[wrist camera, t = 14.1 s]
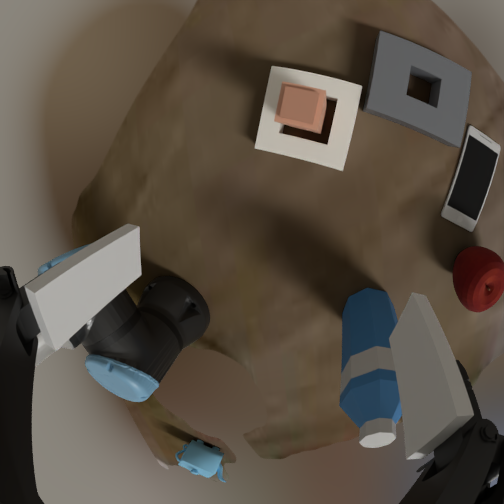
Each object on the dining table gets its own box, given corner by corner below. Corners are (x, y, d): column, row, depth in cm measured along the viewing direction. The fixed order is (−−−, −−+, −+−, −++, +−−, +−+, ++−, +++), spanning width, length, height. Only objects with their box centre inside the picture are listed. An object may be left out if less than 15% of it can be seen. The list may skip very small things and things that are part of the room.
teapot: (182, 440, 88) (169, 465, 76) (187, 432, 83) (172, 460, 71) (231, 461, 86) (221, 487, 74) (240, 455, 81) (229, 484, 69)
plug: (292, 127, 35) (272, 120, 22) (298, 100, 33) (281, 80, 20) (320, 134, 34) (316, 131, 21) (326, 107, 32) (326, 89, 20)
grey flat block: (362, 111, 31) (366, 108, 28) (375, 39, 26) (380, 30, 22) (448, 146, 29) (460, 147, 25) (460, 76, 23) (471, 72, 20)
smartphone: (439, 214, 34) (441, 216, 33) (467, 124, 27) (470, 124, 26) (470, 231, 33) (472, 233, 32) (498, 146, 26) (501, 146, 25)
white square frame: (260, 147, 37) (254, 148, 35) (275, 70, 32) (271, 65, 29) (341, 168, 35) (342, 170, 33) (359, 89, 30) (362, 86, 27)
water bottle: (339, 290, 43) (334, 424, 21) (394, 283, 40) (427, 412, 18) (344, 333, 46) (336, 458, 24) (393, 327, 43) (410, 450, 21)
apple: (495, 248, 32) (523, 276, 23) (469, 294, 36) (490, 327, 27) (461, 226, 33) (489, 252, 24) (434, 276, 37) (454, 311, 28)
